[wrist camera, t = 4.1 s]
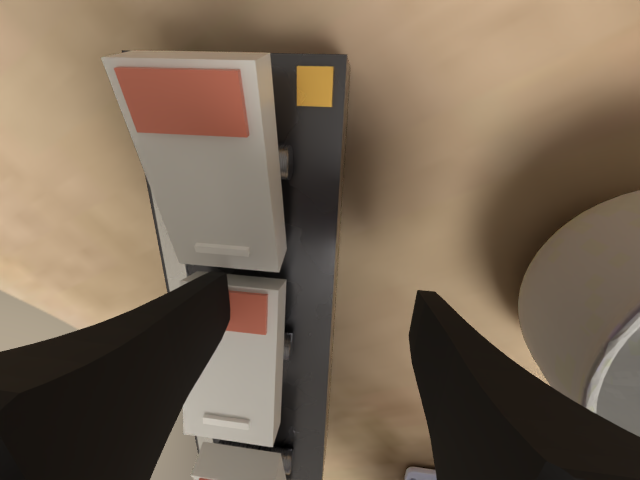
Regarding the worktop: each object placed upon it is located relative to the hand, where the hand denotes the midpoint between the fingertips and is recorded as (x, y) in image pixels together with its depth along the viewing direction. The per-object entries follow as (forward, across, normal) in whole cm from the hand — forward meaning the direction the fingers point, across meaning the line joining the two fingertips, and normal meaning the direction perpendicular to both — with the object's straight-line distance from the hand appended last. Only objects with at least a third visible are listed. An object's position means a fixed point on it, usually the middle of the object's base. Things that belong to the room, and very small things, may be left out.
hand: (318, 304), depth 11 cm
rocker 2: (+2, +4, +4) cm, 5 cm away
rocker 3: (+2, +4, +12) cm, 13 cm away
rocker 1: (+2, +4, -5) cm, 6 cm away
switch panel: (+6, +4, +4) cm, 8 cm away
